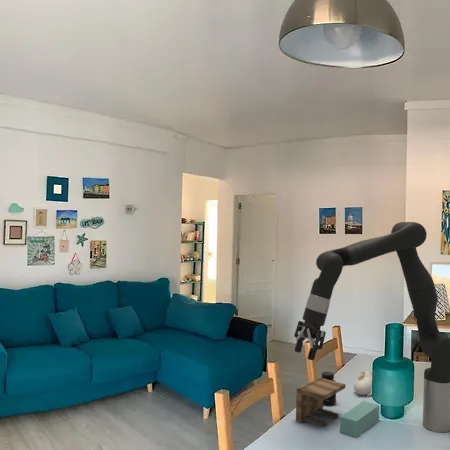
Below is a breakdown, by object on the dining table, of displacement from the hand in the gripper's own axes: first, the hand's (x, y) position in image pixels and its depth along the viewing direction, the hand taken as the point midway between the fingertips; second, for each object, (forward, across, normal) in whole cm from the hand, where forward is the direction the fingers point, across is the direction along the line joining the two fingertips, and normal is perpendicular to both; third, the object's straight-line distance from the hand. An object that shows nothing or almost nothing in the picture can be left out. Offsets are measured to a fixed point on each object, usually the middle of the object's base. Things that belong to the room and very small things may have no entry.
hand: (303, 355), depth 160 cm
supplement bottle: (+21, +22, -32) cm, 44 cm away
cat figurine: (+15, +27, -54) cm, 62 cm away
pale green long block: (+20, -1, -30) cm, 36 cm away
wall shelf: (+23, +9, -21) cm, 32 cm away
